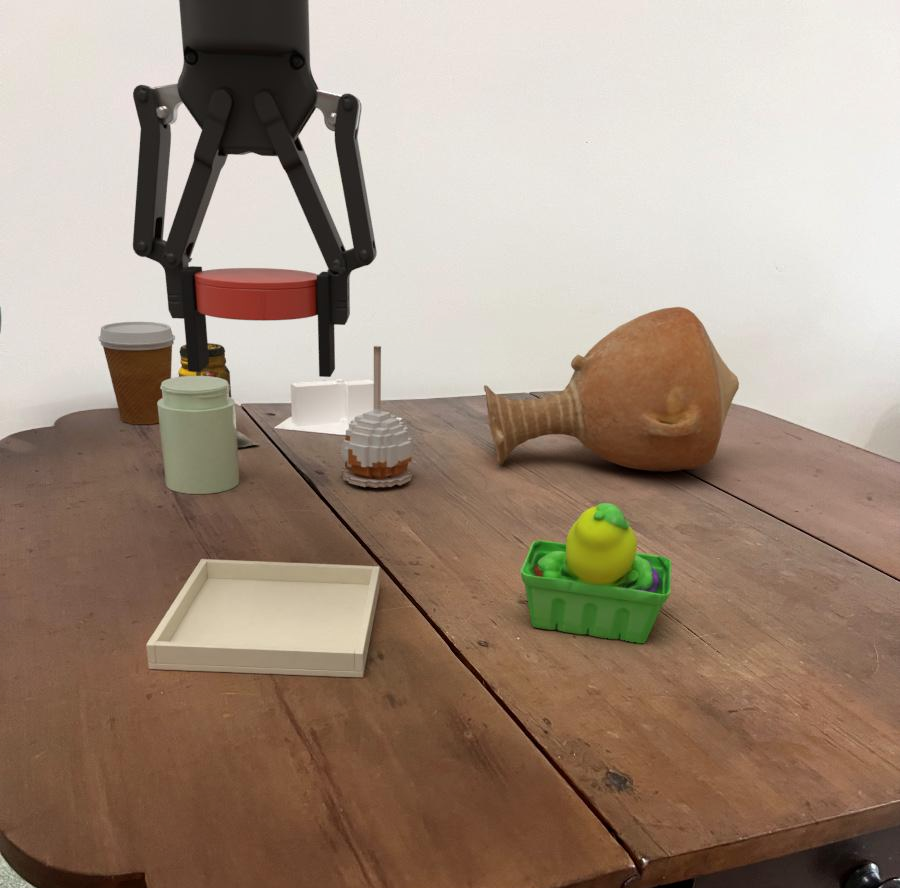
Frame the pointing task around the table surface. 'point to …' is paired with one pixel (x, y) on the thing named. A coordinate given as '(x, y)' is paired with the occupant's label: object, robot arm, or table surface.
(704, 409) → the jug
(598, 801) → the table surface
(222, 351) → the condiment
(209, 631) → the tray
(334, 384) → the napkin holder
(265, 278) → the lid
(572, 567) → the fruit basket
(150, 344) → the disposable coffee cup
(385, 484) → the caramel apple
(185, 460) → the jar
